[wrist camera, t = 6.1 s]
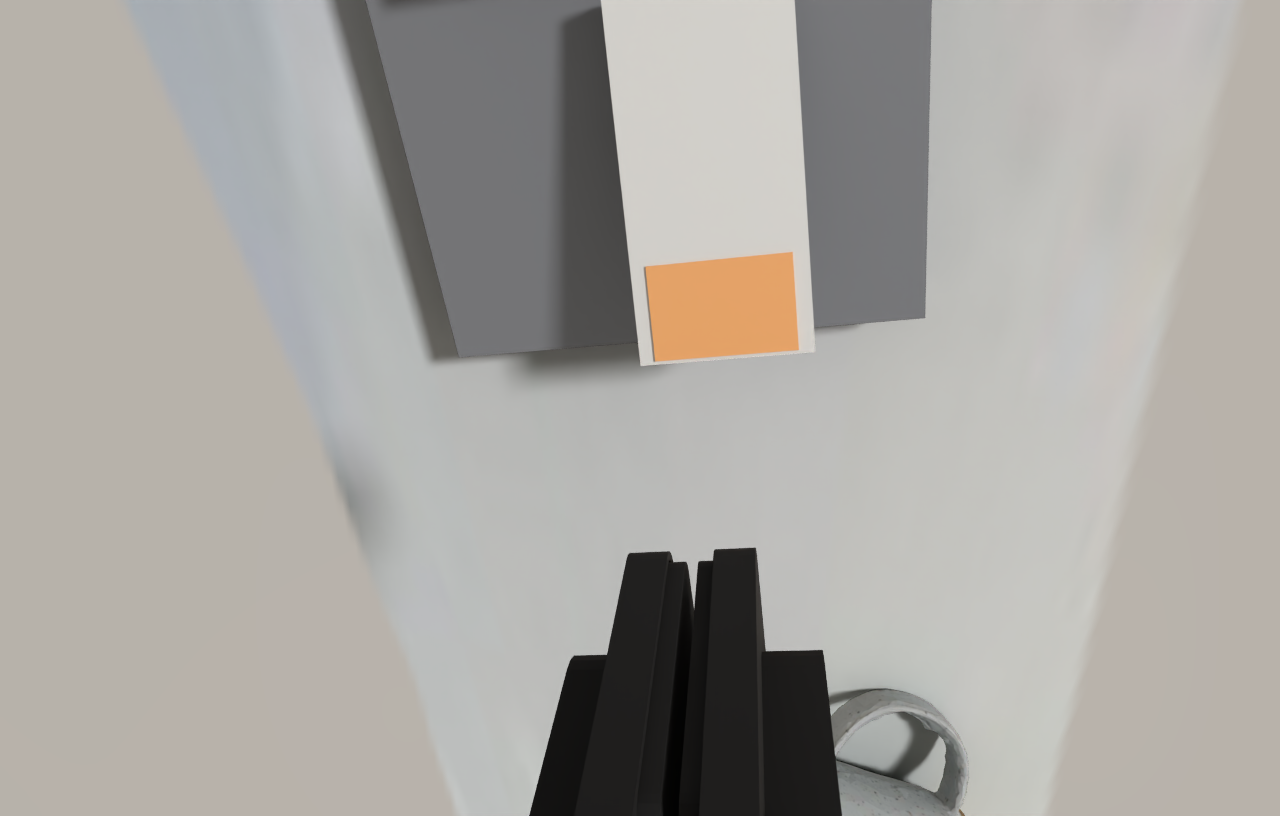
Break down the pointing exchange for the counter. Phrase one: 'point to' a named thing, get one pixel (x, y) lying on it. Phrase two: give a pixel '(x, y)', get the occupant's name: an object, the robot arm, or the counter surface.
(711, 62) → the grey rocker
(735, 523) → the counter surface
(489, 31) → the control panel
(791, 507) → the counter surface
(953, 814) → the ceramic mug
